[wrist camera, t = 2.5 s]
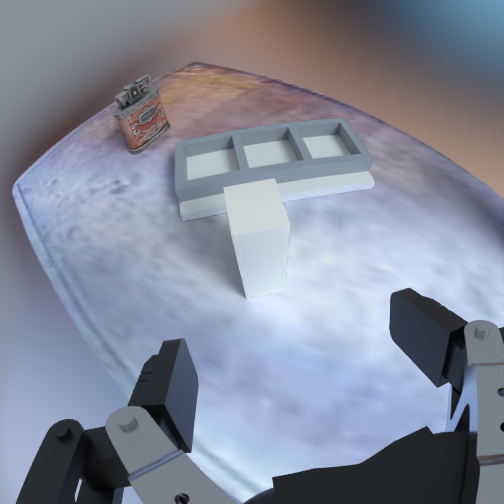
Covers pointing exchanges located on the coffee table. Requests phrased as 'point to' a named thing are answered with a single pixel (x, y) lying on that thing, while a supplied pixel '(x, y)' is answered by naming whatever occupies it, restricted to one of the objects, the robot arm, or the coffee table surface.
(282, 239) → the clay bar
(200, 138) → the rack
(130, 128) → the lighter
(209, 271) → the coffee table surface
